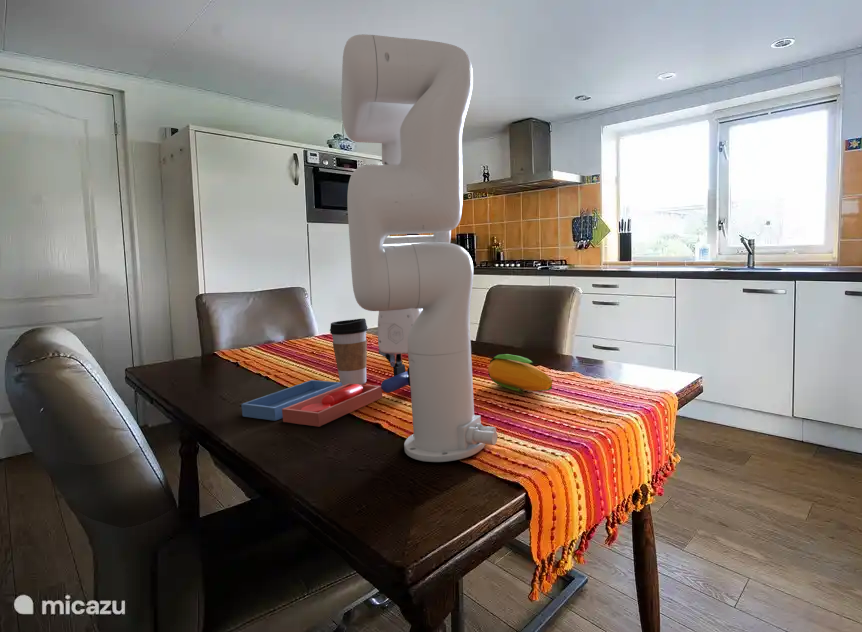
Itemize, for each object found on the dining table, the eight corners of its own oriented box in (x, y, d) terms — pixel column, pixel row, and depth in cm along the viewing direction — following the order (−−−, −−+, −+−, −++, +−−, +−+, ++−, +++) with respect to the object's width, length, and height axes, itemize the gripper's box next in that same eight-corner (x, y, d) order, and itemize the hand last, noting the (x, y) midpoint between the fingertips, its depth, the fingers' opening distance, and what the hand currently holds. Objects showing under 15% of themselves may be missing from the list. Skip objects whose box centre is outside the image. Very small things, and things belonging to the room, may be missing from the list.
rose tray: (382, 397, 107) (381, 386, 107) (319, 426, 91) (317, 413, 90) (350, 394, 111) (349, 383, 110) (283, 421, 94) (281, 408, 94)
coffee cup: (365, 387, 116) (360, 322, 114) (329, 388, 116) (323, 323, 114) (376, 377, 124) (371, 316, 122) (341, 378, 124) (336, 318, 122)
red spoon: (351, 394, 109) (350, 381, 109) (371, 396, 107) (370, 383, 107) (295, 417, 95) (294, 402, 95) (316, 420, 93) (315, 405, 93)
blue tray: (343, 393, 111) (342, 382, 111) (275, 420, 95) (274, 408, 95) (312, 390, 115) (311, 379, 115) (242, 416, 98) (241, 403, 98)
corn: (504, 346, 117) (565, 359, 102) (507, 377, 119) (568, 395, 103) (478, 353, 113) (537, 368, 97) (481, 386, 114) (540, 405, 99)
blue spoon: (395, 395, 100) (394, 381, 100) (373, 393, 102) (372, 380, 102) (436, 376, 114) (435, 364, 114) (417, 375, 116) (416, 363, 116)
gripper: (358, 300, 106) (365, 386, 108) (424, 299, 100) (430, 391, 102) (380, 297, 113) (386, 378, 115) (443, 296, 107) (449, 382, 109)
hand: (407, 383), depth 108 cm, fingers closed on blue spoon, 2 cm apart
